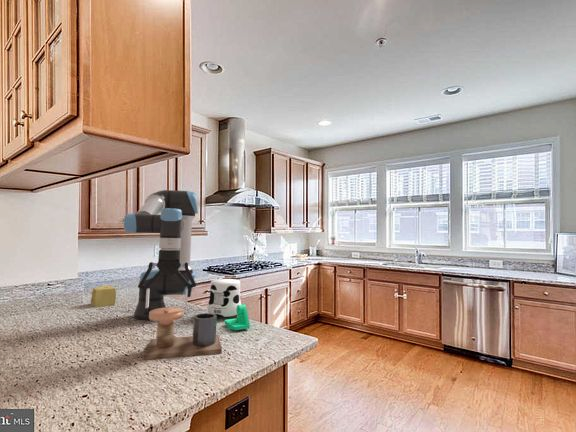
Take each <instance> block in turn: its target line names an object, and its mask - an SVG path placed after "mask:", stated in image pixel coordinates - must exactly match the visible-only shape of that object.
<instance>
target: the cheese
mask: <svg viewBox="0 0 576 432" xmlns="http://www.w3.org/2000/svg"><path fill="white" fill-rule="evenodd" d="M116 299H117V289H116V287H114V286H112V285H102V286H98V287H94V288H93V289H92V291H91V297H90V304H91V305H92V307H94V308H101V307H109V306H111V307H112V306H115V304H116Z"/></svg>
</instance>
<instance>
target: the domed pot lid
mask: <svg viewBox="0 0 576 432" xmlns="http://www.w3.org/2000/svg"><path fill="white" fill-rule="evenodd" d="M165 307H166V306H165ZM184 315H185V311H184V309H183V308H182V307H173V306H171V307H170V306H167V307H166V308H158V309H154V310H151V311H150V312H149V319H150V320H149V321H154V322H158V323H159V325H171V324H173V322H174V321H177V320H180V319H182V318H184Z"/></svg>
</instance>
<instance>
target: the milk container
mask: <svg viewBox="0 0 576 432" xmlns="http://www.w3.org/2000/svg"><path fill="white" fill-rule="evenodd" d="M209 286H210V288H209V298H208V299H209V300H208V303H207V313H212V314H215V315H216V316H217V319H232V318H235V317H237V315H238V314H237V311H236V308H237V305H242V302H241V301H242V300H241V280H239V279H234V278H233V279H232V278H217V279H212V280H211V281H210V285H209Z"/></svg>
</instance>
